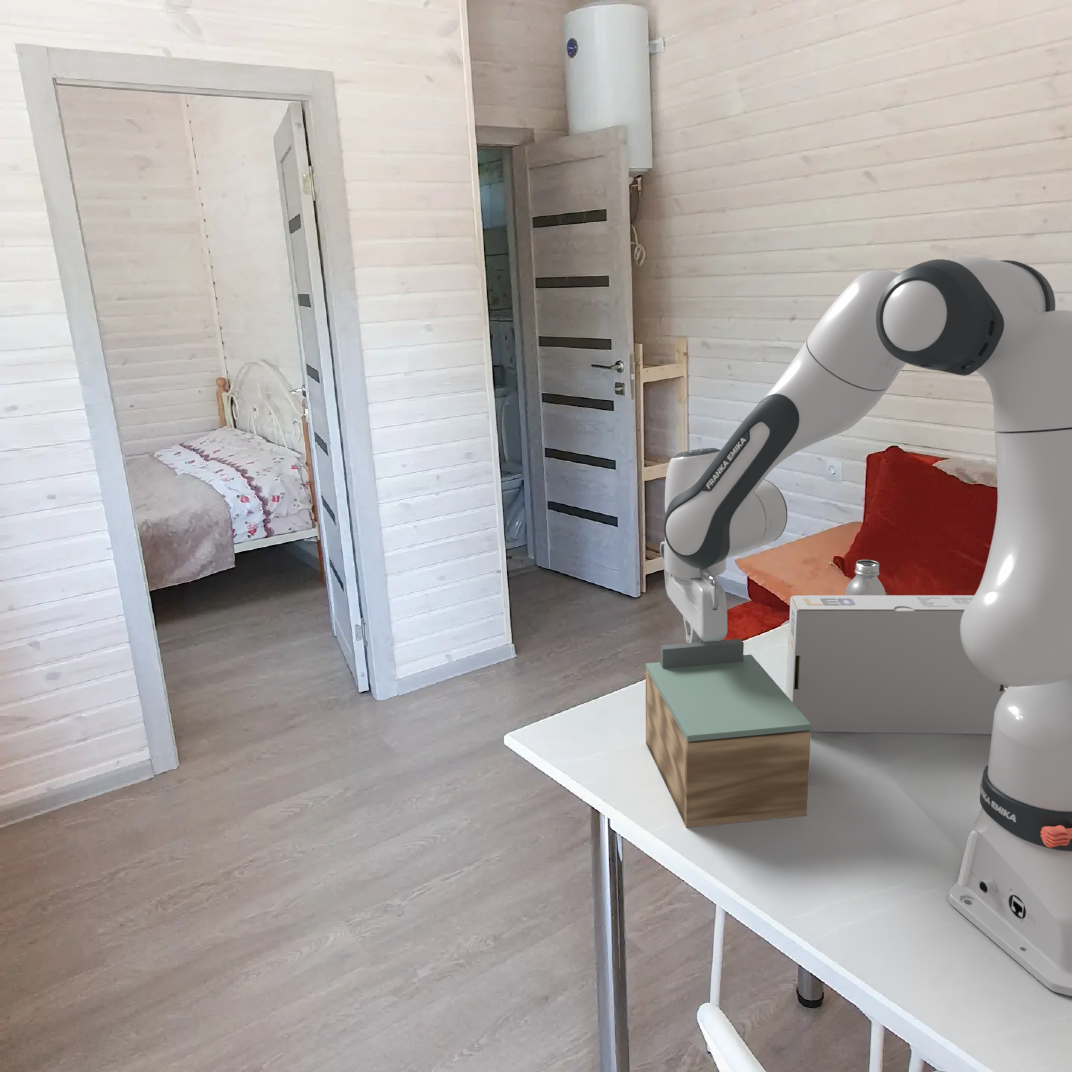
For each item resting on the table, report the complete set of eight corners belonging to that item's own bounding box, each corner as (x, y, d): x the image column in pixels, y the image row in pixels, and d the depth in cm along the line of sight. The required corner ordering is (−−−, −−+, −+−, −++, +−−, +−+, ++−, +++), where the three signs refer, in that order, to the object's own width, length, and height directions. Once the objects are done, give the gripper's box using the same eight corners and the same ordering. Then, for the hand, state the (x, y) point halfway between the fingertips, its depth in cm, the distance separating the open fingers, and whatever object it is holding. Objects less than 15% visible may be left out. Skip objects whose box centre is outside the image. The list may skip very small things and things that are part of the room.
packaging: (984, 716, 143) (998, 595, 137) (999, 735, 137) (1014, 610, 131) (785, 713, 146) (790, 595, 140) (791, 732, 140) (797, 609, 134)
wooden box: (806, 815, 119) (810, 732, 116) (686, 827, 117) (687, 743, 114) (748, 733, 140) (750, 661, 137) (645, 743, 138) (645, 670, 135)
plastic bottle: (855, 683, 155) (862, 571, 149) (832, 667, 161) (839, 559, 156) (888, 677, 157) (897, 566, 151) (864, 662, 163) (872, 555, 157)
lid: (811, 729, 116) (812, 702, 114) (687, 741, 114) (687, 713, 113) (750, 659, 137) (751, 635, 135) (645, 668, 135) (645, 644, 134)
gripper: (739, 578, 124) (737, 672, 128) (696, 537, 144) (695, 620, 148) (694, 582, 124) (693, 676, 127) (657, 540, 143) (657, 623, 147)
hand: (694, 645), depth 138 cm, fingers closed
